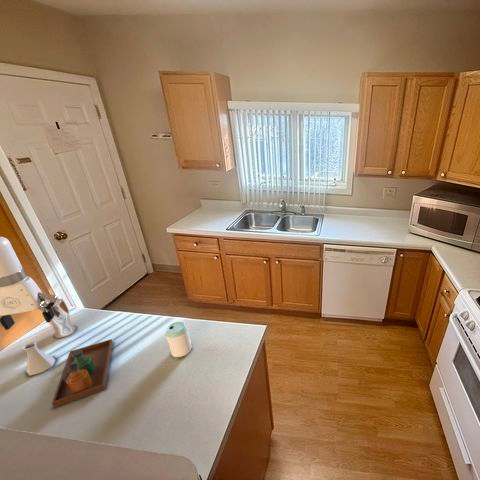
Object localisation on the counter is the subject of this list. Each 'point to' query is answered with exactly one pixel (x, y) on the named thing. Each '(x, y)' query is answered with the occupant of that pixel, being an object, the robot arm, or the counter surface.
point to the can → (178, 339)
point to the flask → (37, 359)
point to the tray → (99, 377)
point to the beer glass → (61, 319)
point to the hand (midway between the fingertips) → (31, 323)
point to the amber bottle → (78, 379)
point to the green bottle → (84, 361)
